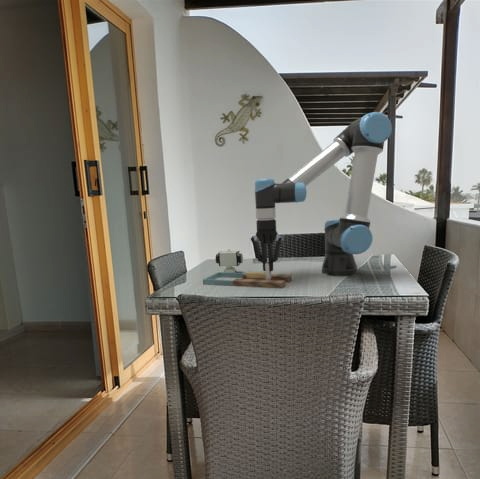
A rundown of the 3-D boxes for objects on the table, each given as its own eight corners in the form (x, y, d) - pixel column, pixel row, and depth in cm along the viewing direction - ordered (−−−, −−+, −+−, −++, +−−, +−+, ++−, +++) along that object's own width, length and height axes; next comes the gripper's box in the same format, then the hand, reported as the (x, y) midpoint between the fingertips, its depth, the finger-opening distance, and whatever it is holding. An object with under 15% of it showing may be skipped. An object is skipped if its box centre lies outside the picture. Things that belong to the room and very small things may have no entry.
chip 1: (259, 281, 144) (258, 271, 143) (255, 283, 140) (255, 273, 139) (250, 280, 145) (249, 271, 145) (246, 283, 141) (245, 273, 141)
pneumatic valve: (241, 276, 159) (240, 249, 157) (216, 276, 161) (214, 250, 160) (244, 273, 164) (242, 248, 163) (219, 273, 167) (218, 248, 165)
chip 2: (268, 281, 142) (268, 271, 142) (265, 284, 138) (265, 273, 138) (259, 281, 144) (258, 271, 143) (255, 283, 140) (255, 273, 139)
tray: (246, 280, 151) (245, 273, 151) (232, 288, 139) (232, 280, 138) (218, 278, 156) (218, 272, 156) (203, 286, 144) (202, 279, 143)
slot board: (291, 281, 144) (291, 274, 143) (282, 291, 131) (281, 283, 130) (246, 280, 151) (245, 273, 151) (232, 288, 139) (232, 280, 138)
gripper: (285, 218, 138) (287, 277, 141) (253, 219, 143) (256, 276, 146) (279, 219, 131) (282, 282, 134) (246, 220, 136) (249, 280, 139)
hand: (268, 279), depth 140 cm, fingers closed
